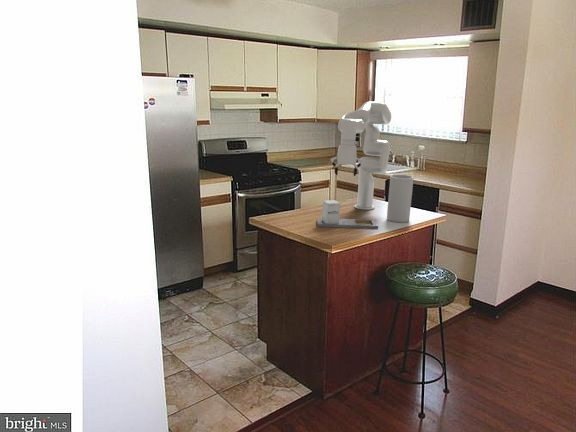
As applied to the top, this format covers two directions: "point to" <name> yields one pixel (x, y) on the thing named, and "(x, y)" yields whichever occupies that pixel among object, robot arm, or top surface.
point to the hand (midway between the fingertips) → (345, 175)
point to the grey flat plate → (350, 223)
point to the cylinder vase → (399, 198)
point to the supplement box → (331, 212)
